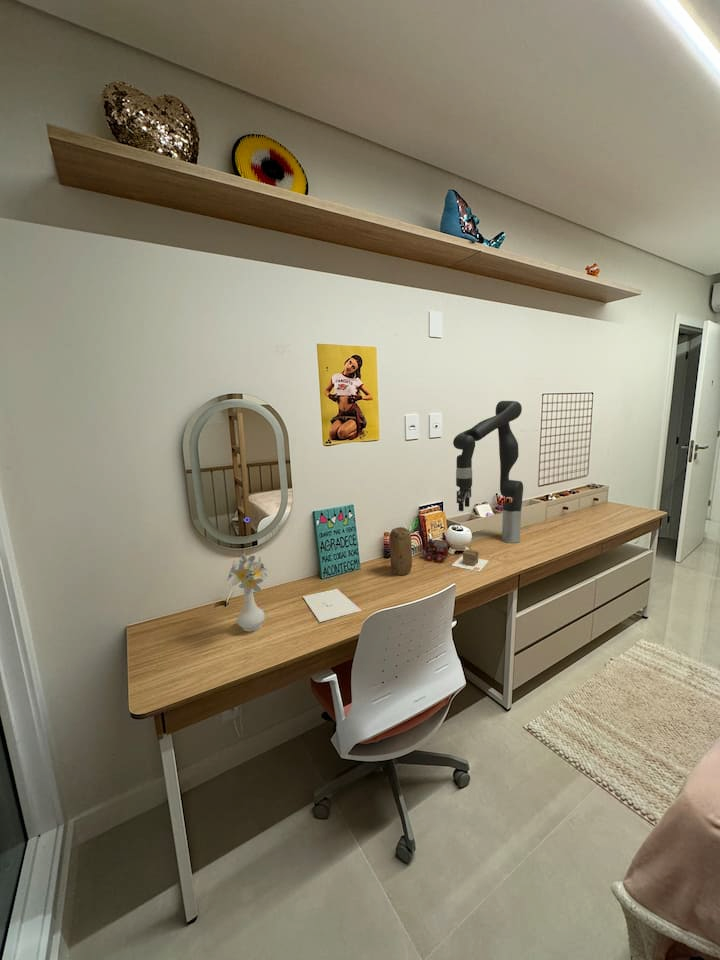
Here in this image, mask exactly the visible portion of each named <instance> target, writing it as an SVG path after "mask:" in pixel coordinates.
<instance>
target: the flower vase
mask: <svg viewBox="0 0 720 960" xmlns="http://www.w3.org/2000/svg"><path fill="white" fill-rule="evenodd" d="M240 557H241V560H238V562H239V563H236V559H235V558H234V559H233V563H232V567H231V568H230V570H229V574H228V578H227V580H226V582H227V581H228V580H229V579H231V578H232V577H234V578H233V580H232V582H231V586H232V587H233V586H236V585H237V584H239V583H240V582H241V583H240V584H239V585H238V587H239V589H243V596H244V597H243V598H244V599H243V600H244V604H243V608H242V610H241V611H240V612H239V613H238V615H237V619H236V623H237V625H238V626H239V627H241V628H242V630H244V632H248V633H249V632H255V631H257V630H259V629H260V628H261V627H262V624H263V623H264V621H265V618H266V615H265V612H264V610H263V609H262V608H260V607H259V606H258V605H257V603H256V599H255V597H254V592H255V593H256V592H257V593H259V592H261V591H262V588H261V587H260V585H258V584H261V583H266V582H267V580H266V577H268V575H267V573H268V572H269V571H268V568H266V567H265V565H264V563H262V560H261V556H260V555H259V556H258V557H259V558H258V560H257V561H255V559H256V556H255V555H250V556H249V557H247V556H246V555H245V554H243V553H241V554H240ZM264 575H265V576H264Z"/></svg>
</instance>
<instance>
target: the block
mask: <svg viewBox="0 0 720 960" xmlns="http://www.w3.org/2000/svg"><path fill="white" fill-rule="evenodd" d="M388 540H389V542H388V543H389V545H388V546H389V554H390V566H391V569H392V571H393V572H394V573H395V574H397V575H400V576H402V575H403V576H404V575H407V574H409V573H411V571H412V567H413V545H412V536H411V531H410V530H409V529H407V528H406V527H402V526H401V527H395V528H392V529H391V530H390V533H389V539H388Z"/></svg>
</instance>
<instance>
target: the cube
mask: <svg viewBox="0 0 720 960" xmlns="http://www.w3.org/2000/svg"><path fill="white" fill-rule="evenodd" d="M462 555H463V564H466V565H471V566H475V565H476V564H477V563H478V559H479V550H475V549H468V548H466V549H465V550H464V551H463V552H462Z"/></svg>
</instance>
